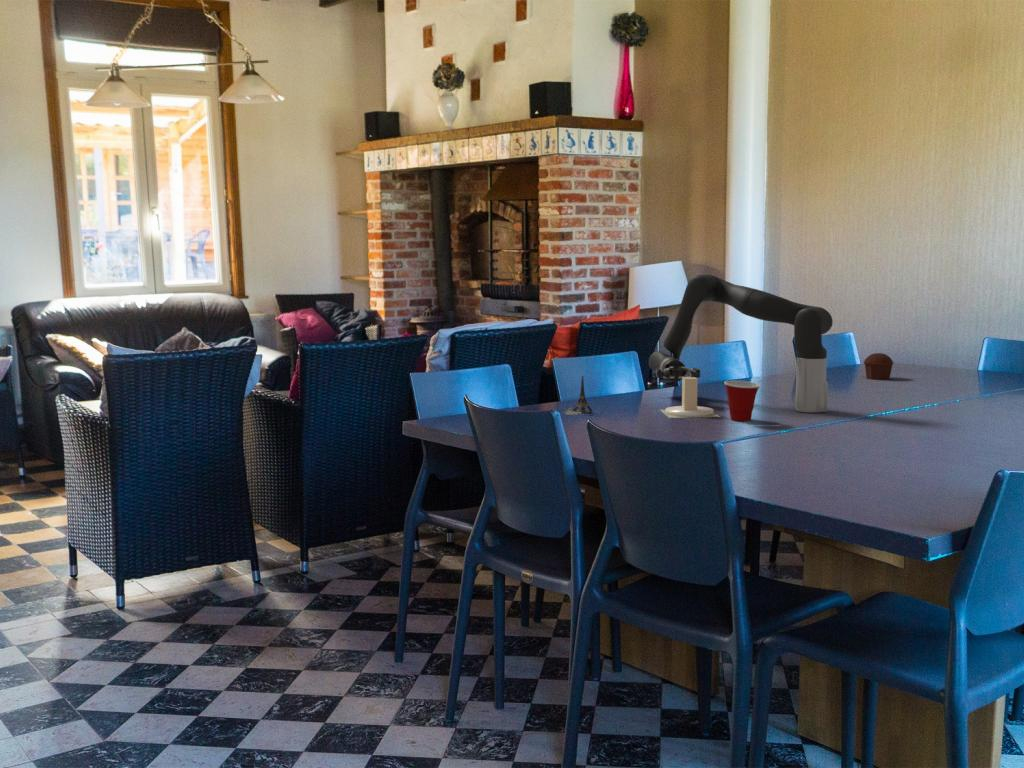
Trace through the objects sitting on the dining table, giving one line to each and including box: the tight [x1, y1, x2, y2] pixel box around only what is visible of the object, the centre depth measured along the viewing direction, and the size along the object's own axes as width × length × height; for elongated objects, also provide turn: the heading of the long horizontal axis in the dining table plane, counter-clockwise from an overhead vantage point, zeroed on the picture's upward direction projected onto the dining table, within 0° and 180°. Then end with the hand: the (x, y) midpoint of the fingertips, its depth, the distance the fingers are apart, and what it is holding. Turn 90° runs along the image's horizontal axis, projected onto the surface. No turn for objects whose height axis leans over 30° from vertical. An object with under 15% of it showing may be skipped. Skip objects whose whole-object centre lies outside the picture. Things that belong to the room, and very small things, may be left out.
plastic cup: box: [723, 380, 761, 423], centre depth 312 cm, size 11×11×12 cm
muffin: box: [863, 352, 894, 381], centre depth 410 cm, size 12×11×10 cm
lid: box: [664, 377, 715, 418], centre depth 325 cm, size 15×15×11 cm
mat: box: [659, 409, 721, 419], centre depth 326 cm, size 16×16×1 cm
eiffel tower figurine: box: [564, 372, 594, 416], centre depth 334 cm, size 15×10×13 cm
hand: (681, 375), depth 336 cm, fingers open, 8 cm apart
